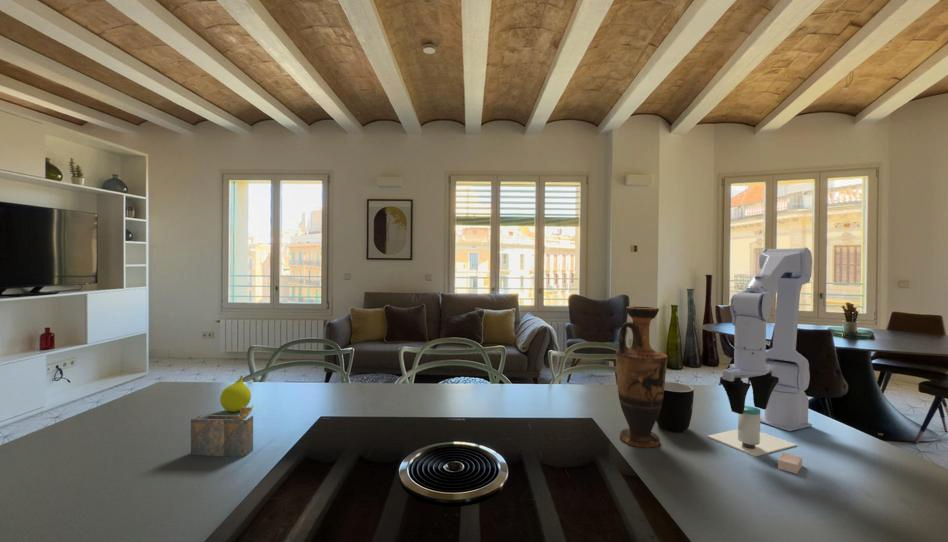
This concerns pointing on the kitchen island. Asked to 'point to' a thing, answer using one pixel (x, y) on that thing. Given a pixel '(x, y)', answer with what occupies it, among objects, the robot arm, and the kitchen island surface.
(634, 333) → the vase
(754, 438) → the white and green cylinder
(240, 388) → the yellow rounded piece
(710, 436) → the paper
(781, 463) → the eraser
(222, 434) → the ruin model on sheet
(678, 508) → the kitchen island surface
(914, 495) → the kitchen island surface
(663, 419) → the mug
